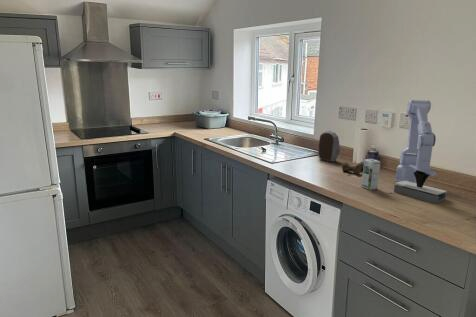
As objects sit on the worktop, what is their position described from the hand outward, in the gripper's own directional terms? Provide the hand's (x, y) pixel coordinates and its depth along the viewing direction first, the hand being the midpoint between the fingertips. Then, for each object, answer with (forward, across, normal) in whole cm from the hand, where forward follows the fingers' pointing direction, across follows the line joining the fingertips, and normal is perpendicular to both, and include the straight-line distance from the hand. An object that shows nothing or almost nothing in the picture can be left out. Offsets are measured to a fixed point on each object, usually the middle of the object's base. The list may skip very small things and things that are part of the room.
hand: (419, 187), depth 172 cm
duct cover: (+1, 0, -1) cm, 1 cm away
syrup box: (+5, +16, +16) cm, 23 cm away
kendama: (+5, +45, +4) cm, 45 cm away
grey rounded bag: (+4, +74, +5) cm, 74 cm away
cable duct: (+4, 0, -1) cm, 4 cm away
